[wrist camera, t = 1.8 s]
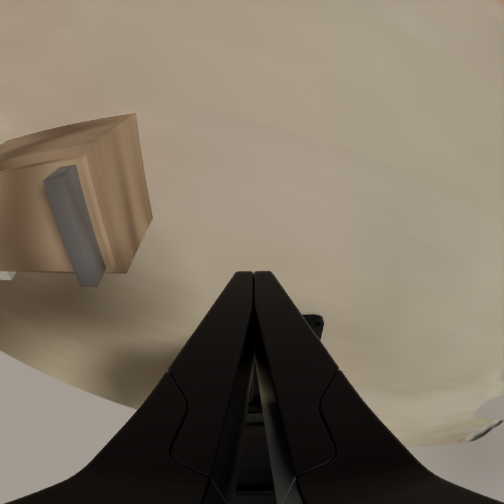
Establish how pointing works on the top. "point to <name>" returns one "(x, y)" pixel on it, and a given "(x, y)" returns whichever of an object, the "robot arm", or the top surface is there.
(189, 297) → the top surface
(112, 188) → the block
